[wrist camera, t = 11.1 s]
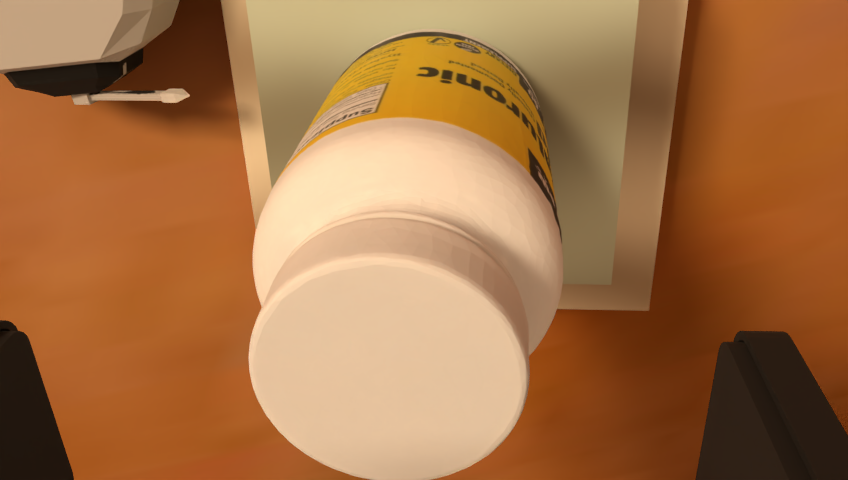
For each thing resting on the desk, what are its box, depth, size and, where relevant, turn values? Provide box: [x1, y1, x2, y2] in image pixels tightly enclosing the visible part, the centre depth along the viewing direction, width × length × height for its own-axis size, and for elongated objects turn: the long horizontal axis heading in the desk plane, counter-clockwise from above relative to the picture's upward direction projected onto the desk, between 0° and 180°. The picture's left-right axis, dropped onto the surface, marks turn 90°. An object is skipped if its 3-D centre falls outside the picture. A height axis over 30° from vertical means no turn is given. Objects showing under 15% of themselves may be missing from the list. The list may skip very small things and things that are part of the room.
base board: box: [221, 0, 688, 311], centre depth 22 cm, size 16×13×6 cm
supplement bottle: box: [249, 29, 563, 480], centre depth 15 cm, size 5×5×10 cm
